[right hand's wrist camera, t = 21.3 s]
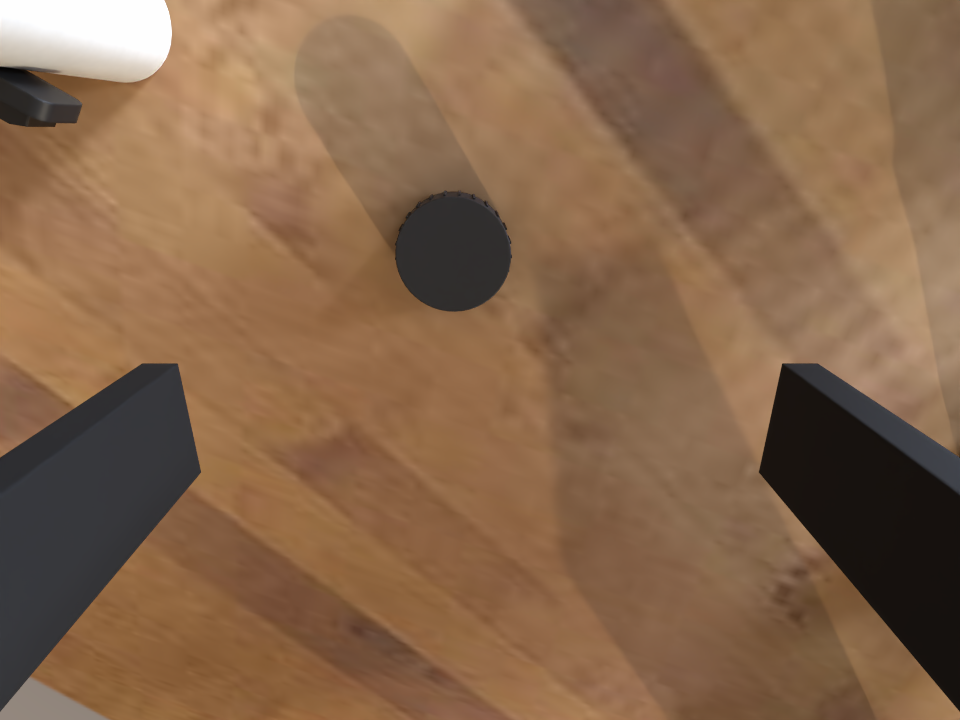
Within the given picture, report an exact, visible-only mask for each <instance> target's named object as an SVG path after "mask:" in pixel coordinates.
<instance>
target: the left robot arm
mask: <svg viewBox="0 0 960 720" xmlns="http://www.w3.org/2000/svg"><path fill="white" fill-rule="evenodd" d="M81 107H82V103H81V102H80V101H79V100H77V99H76V98H74V97H72V96H70V95H69V94H67V93H65V92H63V91H62V90H60V89H58V88H56V87H55V86H53V85H51V84H49V83H48V82H46V81H44V80H42V79H41V78H39V77H37V76H35V75H34V74H32V73H30V72H28V71H27V70H23V69H15V68H7V67H0V119H2V120H4V121H5V122H7V123H9V124H14V125H20V126H26V127H55V124H56V123H77V120H78V116H79V113H80V110H81Z"/></svg>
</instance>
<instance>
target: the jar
mask: <svg viewBox="0 0 960 720" xmlns="http://www.w3.org/2000/svg"><path fill="white" fill-rule="evenodd" d="M170 45H171V21H170V17H169V12H168V9H167V6H166V4H165V1H164V0H0V67H7V68H15V69H23V70H30V71H38V72H46V73H54V74H61V75H69V76H77V77H84V78H92V79H100V80H107V81H115V82H125V83H128V82H136V81H141V80H143V79H146V78H148V77H149V76H151V75H153V74H154V73H155V72H156V71H157V70H158V69H159V68H160V67H161V66H162V64H163V63H164V61H165V59H166V57H167V55H168V52H169V49H170Z"/></svg>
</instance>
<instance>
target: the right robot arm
mask: <svg viewBox="0 0 960 720" xmlns="http://www.w3.org/2000/svg"><path fill="white" fill-rule="evenodd" d="M200 473H201V470H200V465H199V460H198V456H197V451H196V447H195V442H194V437H193V433H192V428H191V423H190V419H189V414H188V409H187V405H186V400H185V395H184V391H183V386H182V381H181V377H180V372H179V368H178V364H141V365H139V366H138V367H136V368H135V369H133V370H132V371H130V372H129V373H127V374H126V375H124V376H123V377H121V378H120V379H118V380H117V381H115V382H114V383H112V384H111V385H109V386H108V387H106V388H105V389H103V390H102V391H100V392H99V393H97V394H96V395H94V396H93V397H91V398H90V399H88V400H87V401H85V402H84V403H82V404H81V405H79V406H78V407H76V408H75V409H73V410H72V411H70V412H69V413H67V414H65V415H64V416H62V417H61V418H59V419H58V420H56V421H55V422H53V423H52V424H50V425H49V426H47V427H46V428H44V429H43V430H41V431H40V432H38V433H37V434H35V435H34V436H32V437H31V438H29V439H28V440H26V441H25V442H23V443H22V444H20V445H19V446H17V447H16V448H14V449H13V450H11V451H10V452H8V453H7V454H5V455H4V456H2V457H1V458H0V711H1V710H2V709H3V708H4V706H5V705H6V704H7V703H8V702H9V700H10V699H11V698H12V697H13V696H14V694H15V693H16V692H17V691H18V690H19V689H20V687H21V686H22V685H23V684H24V683H25V681H26V680H27V679H28V678H29V677H30V675H31V674H32V673H33V672H34V671H35V670H36V668H37V667H38V666H39V665H40V664H41V662H42V661H43V660H44V659H45V658H46V656H47V655H48V654H49V653H50V652H51V650H52V649H53V648H54V647H55V646H56V644H57V643H58V642H59V641H60V640H61V639H62V637H63V636H64V635H65V634H66V633H67V631H68V630H69V629H70V628H71V627H72V625H73V624H74V623H75V622H76V621H77V619H78V618H79V617H80V616H81V615H82V614H83V612H84V611H85V610H86V609H87V608H88V606H89V605H90V604H91V603H92V602H93V600H94V599H95V598H96V597H97V596H98V594H99V593H100V592H101V591H102V590H103V589H104V587H105V586H106V585H107V584H108V583H109V581H110V580H111V579H112V578H113V577H114V575H115V574H116V573H117V572H118V571H119V569H120V568H121V567H122V566H123V565H124V563H125V562H126V561H127V560H128V559H129V558H130V556H131V555H132V554H133V553H134V552H135V550H136V549H137V548H138V547H139V546H140V544H141V543H142V542H143V541H144V540H145V538H146V537H147V536H148V535H149V534H150V533H151V531H152V530H153V529H154V528H155V527H156V525H157V524H158V523H159V522H160V521H161V519H162V518H163V517H164V516H165V515H166V513H167V512H168V511H169V510H170V509H171V508H172V506H173V505H174V504H175V503H176V502H177V500H178V499H179V498H180V497H181V496H182V494H183V493H184V492H185V491H186V490H187V488H188V487H189V486H190V485H191V484H192V482H193V481H194V480H195V479H196V478H197V477H198V475H199V474H200ZM759 473H760V474H761V475H762V477H763V478H764V479H765V480H766V481H767V482H768V484H769V485H770V486H771V487H772V488H773V490H774V491H775V492H776V493H777V494H778V496H779V497H780V498H781V499H782V500H783V502H784V503H785V504H786V505H787V506H788V508H789V509H790V510H791V511H792V512H793V513H794V515H795V516H796V517H797V518H798V519H799V521H800V522H801V523H802V524H803V525H804V527H805V528H806V529H807V530H808V531H809V533H810V534H811V535H812V536H813V537H814V538H815V540H816V541H817V542H818V543H819V544H820V546H821V547H822V548H823V549H824V550H825V552H826V553H827V554H828V555H829V556H830V558H831V559H832V560H833V561H834V562H835V563H836V565H837V566H838V567H839V568H840V569H841V571H842V572H843V573H844V574H845V575H846V577H847V578H848V579H849V580H850V581H851V583H852V584H853V585H854V586H855V587H856V589H857V590H858V591H859V592H860V593H861V594H862V596H863V597H864V598H865V599H866V600H867V602H868V603H869V604H870V605H871V606H872V608H873V609H874V610H875V611H876V612H877V614H878V615H879V616H880V617H881V618H882V619H883V621H884V622H885V623H886V624H887V625H888V627H889V628H890V629H891V630H892V631H893V633H894V634H895V635H896V636H897V637H898V639H899V640H900V641H901V642H902V643H903V644H904V646H905V647H906V648H907V649H908V650H909V652H910V653H911V654H912V655H913V656H914V658H915V659H916V660H917V661H918V662H919V664H920V665H921V666H922V667H923V668H924V670H925V671H926V672H927V673H928V674H929V675H930V677H931V678H932V679H933V680H934V681H935V683H936V684H937V685H938V686H939V687H940V689H941V690H942V691H943V692H944V693H945V695H946V696H947V697H948V698H949V699H950V700H951V702H952V703H953V704H954V705H955V706H956V708H957V709H958V710H959V711H960V458H959V457H958V456H956V455H955V454H953V453H952V452H950V451H949V450H947V449H946V448H944V447H943V446H941V445H940V444H938V443H937V442H935V441H934V440H932V439H931V438H929V437H928V436H926V435H925V434H923V433H922V432H920V431H919V430H917V429H916V428H914V427H913V426H911V425H910V424H908V423H907V422H905V421H904V420H902V419H901V418H899V417H898V416H896V415H895V414H893V413H891V412H890V411H888V410H887V409H885V408H884V407H882V406H881V405H879V404H878V403H876V402H875V401H873V400H872V399H870V398H869V397H867V396H866V395H864V394H863V393H861V392H860V391H858V390H857V389H855V388H854V387H852V386H851V385H849V384H848V383H846V382H845V381H843V380H842V379H840V378H839V377H837V376H836V375H834V374H833V373H831V372H830V371H828V370H827V369H825V368H824V367H822V366H821V365H819V364H782V368H781V372H780V377H779V381H778V386H777V391H776V395H775V400H774V405H773V409H772V414H771V419H770V423H769V428H768V433H767V437H766V442H765V447H764V451H763V456H762V460H761V465H760V470H759Z"/></svg>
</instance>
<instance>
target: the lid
mask: <svg viewBox="0 0 960 720" xmlns="http://www.w3.org/2000/svg"><path fill="white" fill-rule="evenodd" d="M406 219H407V220H406V221H405V223H404V224H402V226H401V227H400V229H399V231H400V233H399V235H398V239H397V241H396V243H395V245H396V257H395V260H396V264H397V268H398V272H399V274H400V277H401V279H402V281H403V282H404V284H405V286H406V287H407V288H408V290H409V291H410V292H411V293H412V294H413V295H414V296H415V297H416V298H417V299H419V300H420V301H421V302H423V303H425V304H426V305H428V306H431V307H433V308H436V309H439V310H444V311H464V310H469V309H472V308H475V307H477V306H479V305H481V304H483V303H485V302H486V301H488V300H489V299H490V298H491V297H493V296H494V295H495V294H496V293H497V291H498V290H499V289H500V288H501V286H502V285H503V283H504V281H505V279H506V277H507V274H508V272H509V267H510V262H511V258H512V255H511V247H510V244H511V241H510V238H509V236H508V235H507V233H506V230H507V228H506V226H505V223H502V221H501V219H500V218H499V214H498V212H497V211H494V210H493V209H492V208H491V207H490V206H489V205H488V202H487V201H485V202H484V201H483V200H481V199H479V198H477V197H475V194H473V195H470V194H467V193H461V191H459V192H447V191H444V193H441V194H437V195H434V196H433V194H432V195H430V197H429V198H428V199H426V200H424V201H423V202H419V203H418V204H417V206H416V208H415V209H414V210H413V211H412V212H409V213H408V215H407V216H406Z"/></svg>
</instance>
